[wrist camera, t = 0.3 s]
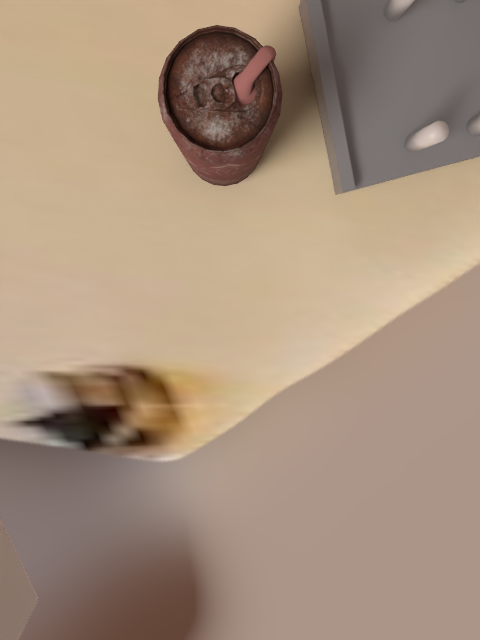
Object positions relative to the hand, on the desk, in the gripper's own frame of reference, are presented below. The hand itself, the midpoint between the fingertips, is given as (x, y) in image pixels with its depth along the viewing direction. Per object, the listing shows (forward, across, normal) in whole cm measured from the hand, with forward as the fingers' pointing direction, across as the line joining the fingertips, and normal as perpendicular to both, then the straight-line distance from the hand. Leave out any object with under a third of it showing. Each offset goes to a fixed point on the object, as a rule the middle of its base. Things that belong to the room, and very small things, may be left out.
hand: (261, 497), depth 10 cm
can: (+26, +2, +13) cm, 29 cm away
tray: (+26, +19, +14) cm, 35 cm away
